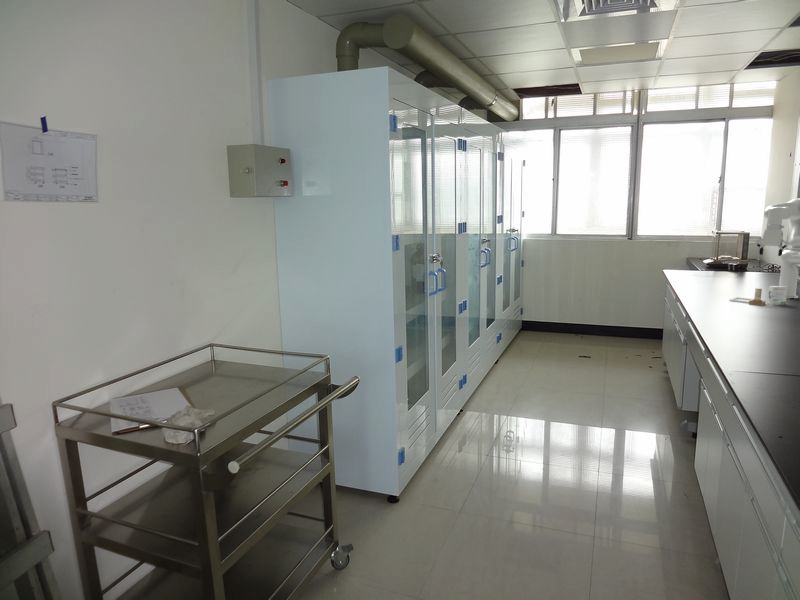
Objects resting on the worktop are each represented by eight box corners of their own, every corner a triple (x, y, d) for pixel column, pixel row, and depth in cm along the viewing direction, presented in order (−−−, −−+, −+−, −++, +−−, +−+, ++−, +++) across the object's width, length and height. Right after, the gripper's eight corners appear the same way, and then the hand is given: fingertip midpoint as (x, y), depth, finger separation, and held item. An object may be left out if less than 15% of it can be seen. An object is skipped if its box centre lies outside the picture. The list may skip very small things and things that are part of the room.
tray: (735, 299, 357) (736, 297, 357) (754, 301, 349) (755, 299, 349) (729, 301, 350) (729, 299, 349) (748, 304, 341) (748, 301, 341)
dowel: (754, 303, 340) (756, 287, 339) (761, 304, 338) (762, 288, 336) (753, 304, 338) (754, 288, 336) (759, 305, 336) (761, 289, 334)
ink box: (771, 305, 336) (773, 287, 334) (766, 304, 341) (768, 285, 339) (786, 305, 335) (788, 286, 333) (781, 304, 340) (783, 285, 338)
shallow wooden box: (752, 303, 343) (752, 299, 342) (765, 305, 338) (765, 300, 337) (748, 305, 338) (749, 300, 338) (761, 306, 333) (762, 302, 333)
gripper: (792, 227, 329) (788, 256, 332) (759, 227, 342) (756, 254, 345) (789, 228, 324) (785, 256, 327) (755, 227, 337) (752, 254, 340)
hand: (770, 255), depth 336 cm, fingers open, 9 cm apart
